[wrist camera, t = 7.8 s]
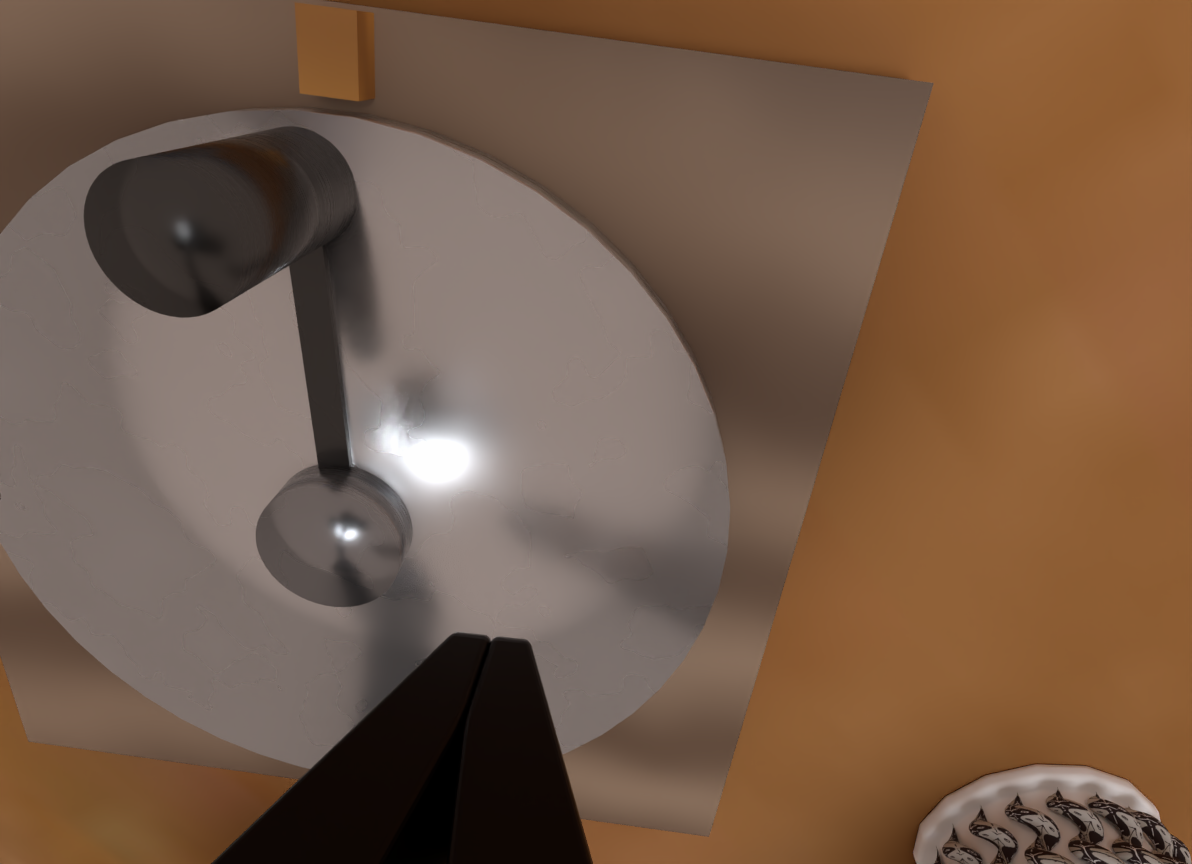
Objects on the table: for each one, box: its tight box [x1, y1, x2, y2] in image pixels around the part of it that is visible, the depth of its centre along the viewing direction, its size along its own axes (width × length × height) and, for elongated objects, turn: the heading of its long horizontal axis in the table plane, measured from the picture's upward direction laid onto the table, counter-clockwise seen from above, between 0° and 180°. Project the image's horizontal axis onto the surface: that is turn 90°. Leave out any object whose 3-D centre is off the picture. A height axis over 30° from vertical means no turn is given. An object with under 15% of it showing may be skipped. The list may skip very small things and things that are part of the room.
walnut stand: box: [0, 0, 933, 837], centre depth 21 cm, size 24×24×2 cm
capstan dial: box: [0, 107, 730, 769], centre depth 18 cm, size 20×20×6 cm
